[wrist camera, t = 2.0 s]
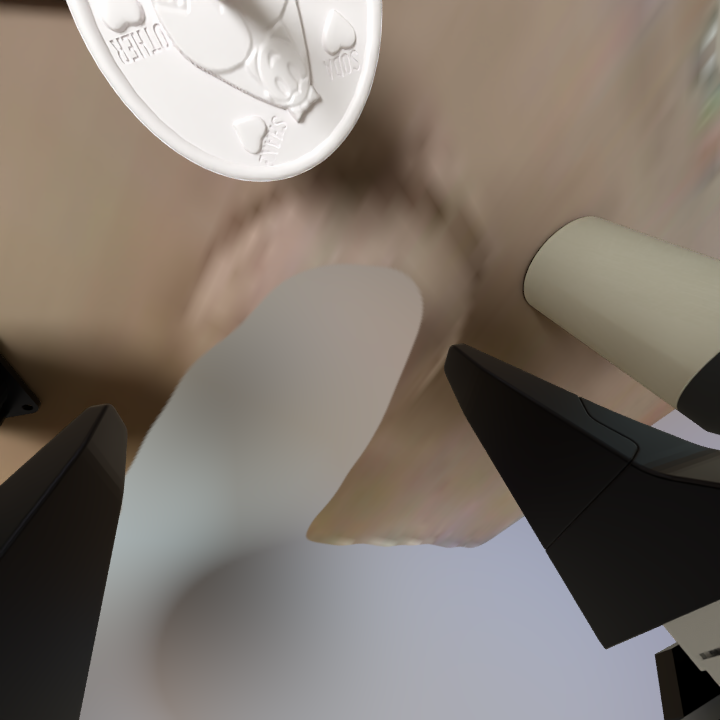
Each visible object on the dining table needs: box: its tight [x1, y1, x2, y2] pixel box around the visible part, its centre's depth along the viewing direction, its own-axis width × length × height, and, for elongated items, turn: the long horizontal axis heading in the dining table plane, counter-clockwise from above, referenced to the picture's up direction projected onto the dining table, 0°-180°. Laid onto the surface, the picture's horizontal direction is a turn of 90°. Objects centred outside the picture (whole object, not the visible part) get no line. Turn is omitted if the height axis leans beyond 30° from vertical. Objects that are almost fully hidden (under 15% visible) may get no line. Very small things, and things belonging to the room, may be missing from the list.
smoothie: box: [66, 0, 382, 182], centre depth 9 cm, size 6×6×14 cm
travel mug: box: [524, 216, 720, 435], centre depth 21 cm, size 8×8×18 cm
